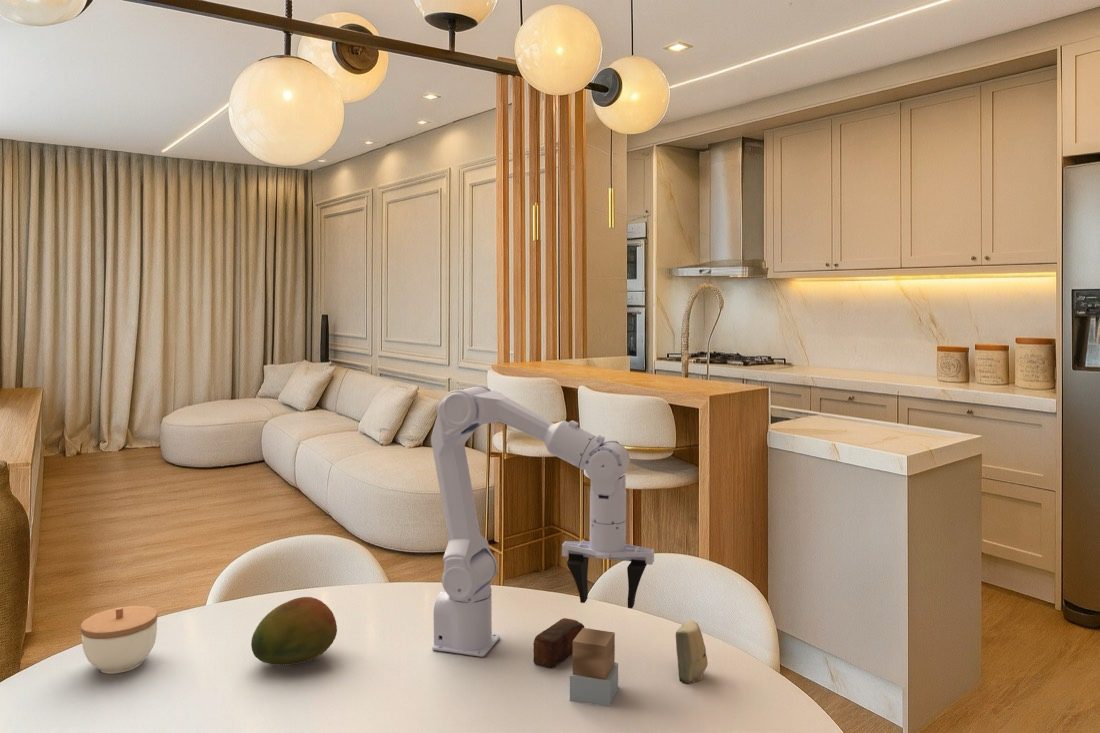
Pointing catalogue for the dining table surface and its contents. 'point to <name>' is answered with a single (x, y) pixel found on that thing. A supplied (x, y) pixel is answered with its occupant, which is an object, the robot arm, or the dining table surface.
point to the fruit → (294, 632)
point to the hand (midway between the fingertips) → (607, 603)
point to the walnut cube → (593, 653)
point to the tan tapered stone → (690, 652)
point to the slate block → (594, 688)
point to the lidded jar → (119, 638)
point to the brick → (556, 643)
